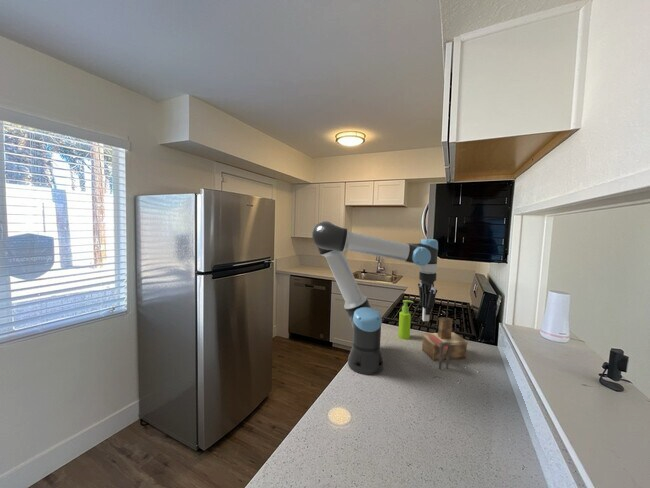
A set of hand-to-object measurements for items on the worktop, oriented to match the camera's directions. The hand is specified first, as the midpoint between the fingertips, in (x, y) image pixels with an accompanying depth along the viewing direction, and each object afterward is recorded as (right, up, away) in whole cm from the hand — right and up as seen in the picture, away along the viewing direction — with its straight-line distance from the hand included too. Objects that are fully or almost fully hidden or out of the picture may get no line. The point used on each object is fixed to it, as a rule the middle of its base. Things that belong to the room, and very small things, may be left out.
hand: (425, 320), depth 130 cm
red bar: (+1, -7, -11) cm, 13 cm away
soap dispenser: (-5, -13, +16) cm, 21 cm away
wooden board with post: (+8, -8, -3) cm, 12 cm away
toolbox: (+7, -16, -6) cm, 18 cm away
